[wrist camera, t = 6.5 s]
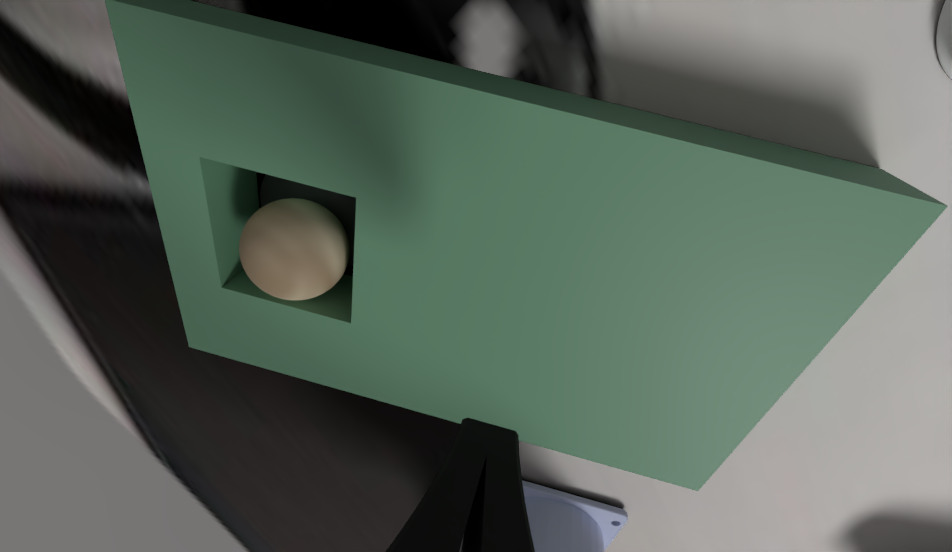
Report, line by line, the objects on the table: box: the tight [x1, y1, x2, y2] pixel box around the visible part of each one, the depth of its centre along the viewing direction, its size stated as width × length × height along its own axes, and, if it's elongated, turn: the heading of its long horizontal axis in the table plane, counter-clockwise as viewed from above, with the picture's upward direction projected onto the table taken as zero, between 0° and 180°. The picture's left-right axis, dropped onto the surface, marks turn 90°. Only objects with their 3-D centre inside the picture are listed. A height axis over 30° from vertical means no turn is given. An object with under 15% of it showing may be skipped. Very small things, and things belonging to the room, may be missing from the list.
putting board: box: [105, 0, 947, 491], centre depth 17 cm, size 24×14×3 cm, turn 79°
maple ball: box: [239, 198, 349, 300], centre depth 17 cm, size 4×4×4 cm
